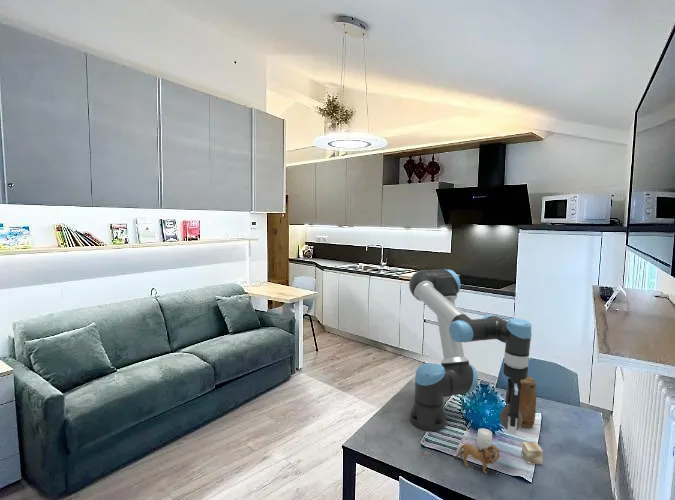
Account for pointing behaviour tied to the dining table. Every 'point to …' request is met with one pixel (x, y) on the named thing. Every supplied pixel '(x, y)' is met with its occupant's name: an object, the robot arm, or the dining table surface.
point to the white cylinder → (484, 438)
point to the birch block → (532, 452)
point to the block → (527, 401)
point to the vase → (505, 418)
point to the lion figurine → (479, 454)
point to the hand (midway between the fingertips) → (510, 427)
